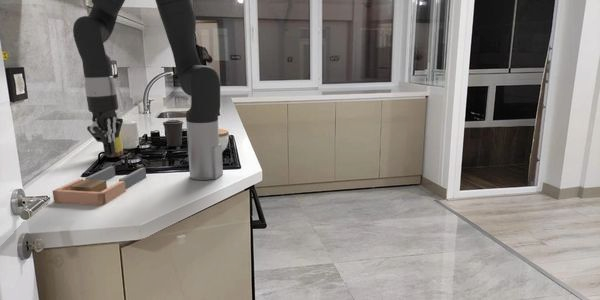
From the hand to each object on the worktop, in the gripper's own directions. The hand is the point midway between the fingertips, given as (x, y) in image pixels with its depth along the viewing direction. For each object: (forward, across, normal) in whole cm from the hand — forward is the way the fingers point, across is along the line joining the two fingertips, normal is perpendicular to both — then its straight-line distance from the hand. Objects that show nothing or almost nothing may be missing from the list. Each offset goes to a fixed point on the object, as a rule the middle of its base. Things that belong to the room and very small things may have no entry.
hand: (110, 154), depth 118 cm
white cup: (+10, +43, +22) cm, 49 cm away
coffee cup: (+10, +49, +7) cm, 51 cm away
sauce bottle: (+9, +29, +20) cm, 36 cm away
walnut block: (+9, -11, 0) cm, 14 cm away
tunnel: (+9, +2, 0) cm, 9 cm away
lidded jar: (+10, +42, -14) cm, 45 cm away
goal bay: (+9, -10, 0) cm, 13 cm away
